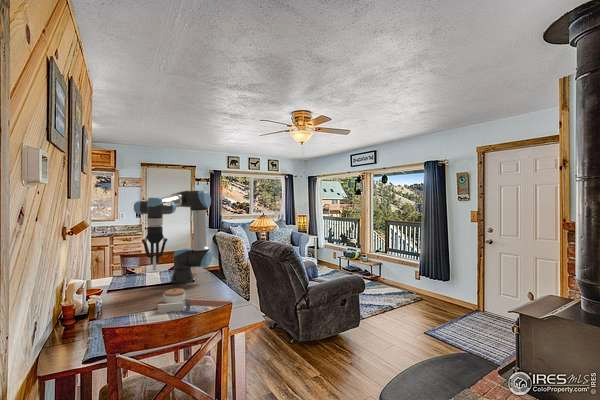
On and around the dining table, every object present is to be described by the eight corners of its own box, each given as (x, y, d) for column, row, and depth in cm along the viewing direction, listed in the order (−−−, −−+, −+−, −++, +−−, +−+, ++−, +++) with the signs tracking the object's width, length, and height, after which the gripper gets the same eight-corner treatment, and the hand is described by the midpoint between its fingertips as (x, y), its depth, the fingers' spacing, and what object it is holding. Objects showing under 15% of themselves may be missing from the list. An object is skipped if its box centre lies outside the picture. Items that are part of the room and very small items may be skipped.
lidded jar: (162, 309, 160) (162, 291, 160) (165, 302, 170) (165, 286, 170) (184, 307, 163) (184, 290, 163) (186, 301, 173) (186, 285, 173)
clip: (232, 306, 158) (232, 300, 158) (230, 308, 155) (230, 302, 155) (186, 303, 161) (186, 298, 161) (184, 305, 158) (184, 299, 158)
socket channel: (163, 301, 173) (163, 294, 173) (192, 298, 178) (192, 291, 178) (157, 313, 154) (157, 305, 154) (190, 310, 159) (190, 302, 159)
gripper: (140, 227, 157) (139, 272, 157) (167, 226, 161) (167, 270, 161) (142, 225, 164) (142, 269, 164) (168, 225, 169) (168, 267, 168)
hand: (154, 269), depth 163 cm, fingers closed
